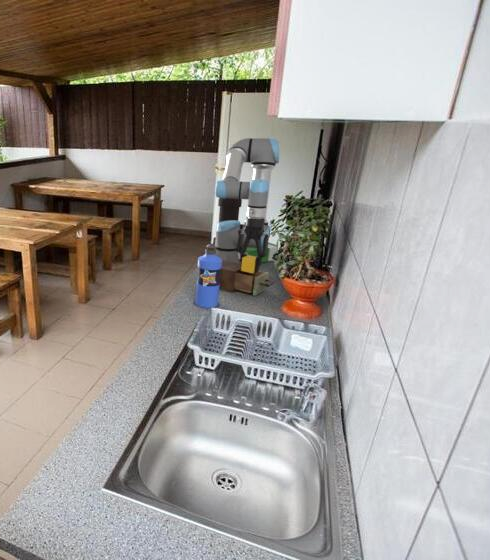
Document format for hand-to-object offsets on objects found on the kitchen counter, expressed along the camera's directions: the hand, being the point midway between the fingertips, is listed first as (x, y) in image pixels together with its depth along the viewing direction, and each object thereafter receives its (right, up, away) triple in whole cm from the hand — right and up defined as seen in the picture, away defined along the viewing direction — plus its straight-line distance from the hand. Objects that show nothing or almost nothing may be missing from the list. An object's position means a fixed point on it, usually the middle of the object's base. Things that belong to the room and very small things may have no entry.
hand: (249, 270), depth 185 cm
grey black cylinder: (+10, +18, +82) cm, 85 cm away
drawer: (+1, -9, +2) cm, 9 cm away
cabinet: (-9, -7, +10) cm, 15 cm away
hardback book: (+7, +10, +46) cm, 48 cm away
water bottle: (-21, -14, -12) cm, 28 cm away
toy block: (0, 0, 0) cm, 0 cm away
